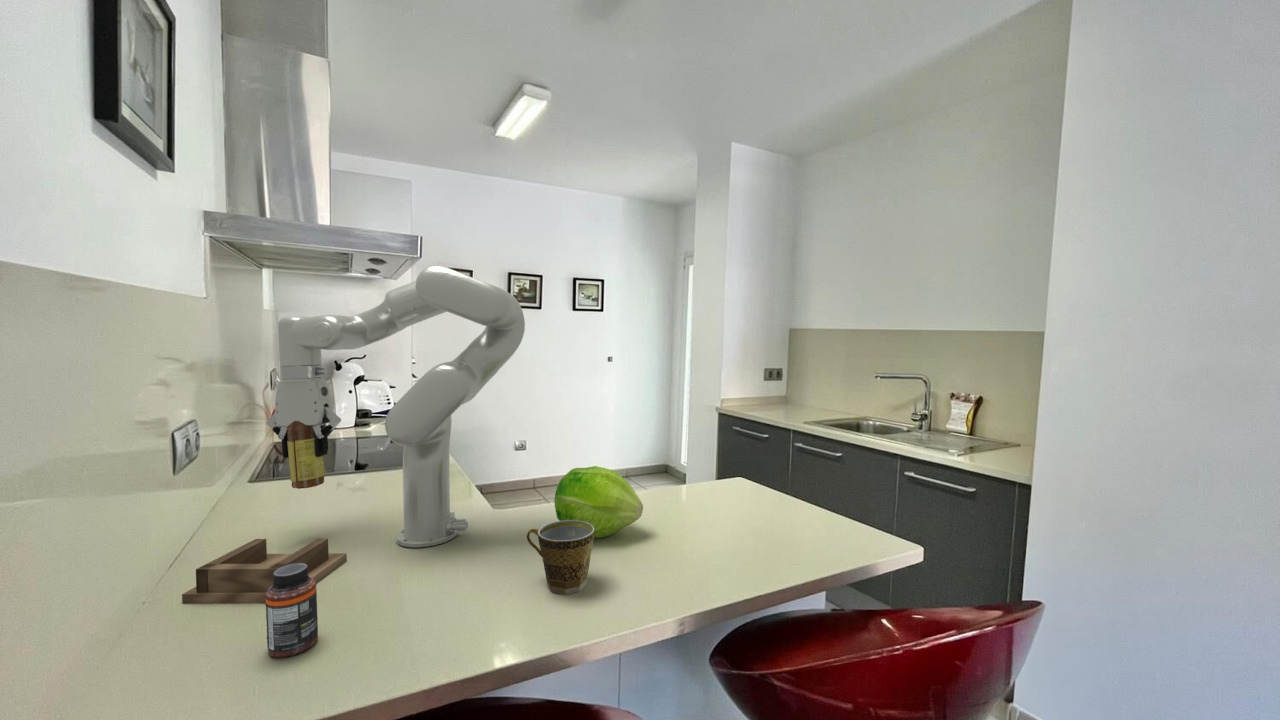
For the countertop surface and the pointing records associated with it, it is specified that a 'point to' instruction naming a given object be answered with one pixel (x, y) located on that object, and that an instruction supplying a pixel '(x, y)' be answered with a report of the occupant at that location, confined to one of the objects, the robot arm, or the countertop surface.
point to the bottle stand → (256, 572)
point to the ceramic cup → (565, 554)
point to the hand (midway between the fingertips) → (305, 455)
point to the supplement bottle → (291, 611)
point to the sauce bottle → (304, 456)
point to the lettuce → (597, 500)
